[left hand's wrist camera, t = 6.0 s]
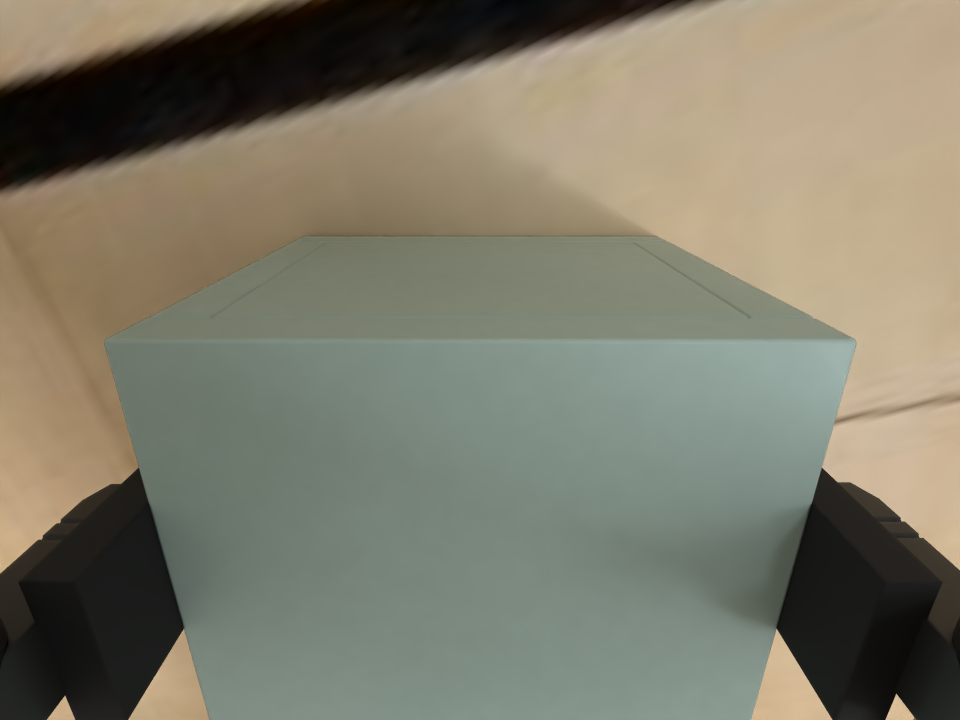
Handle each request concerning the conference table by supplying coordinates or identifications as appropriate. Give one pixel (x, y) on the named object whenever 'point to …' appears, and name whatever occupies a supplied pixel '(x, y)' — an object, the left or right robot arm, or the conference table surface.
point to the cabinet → (480, 476)
